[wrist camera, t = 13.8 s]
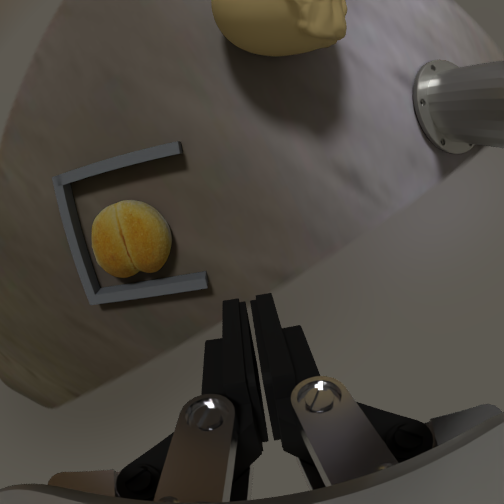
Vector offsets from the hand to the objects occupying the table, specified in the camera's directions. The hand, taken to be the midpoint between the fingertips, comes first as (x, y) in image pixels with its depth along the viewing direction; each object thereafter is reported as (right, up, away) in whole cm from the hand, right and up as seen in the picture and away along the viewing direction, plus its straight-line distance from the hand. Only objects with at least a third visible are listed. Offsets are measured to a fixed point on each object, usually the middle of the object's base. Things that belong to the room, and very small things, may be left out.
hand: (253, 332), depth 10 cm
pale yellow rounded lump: (+2, +27, +14) cm, 30 cm away
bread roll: (-13, +4, +21) cm, 25 cm away
